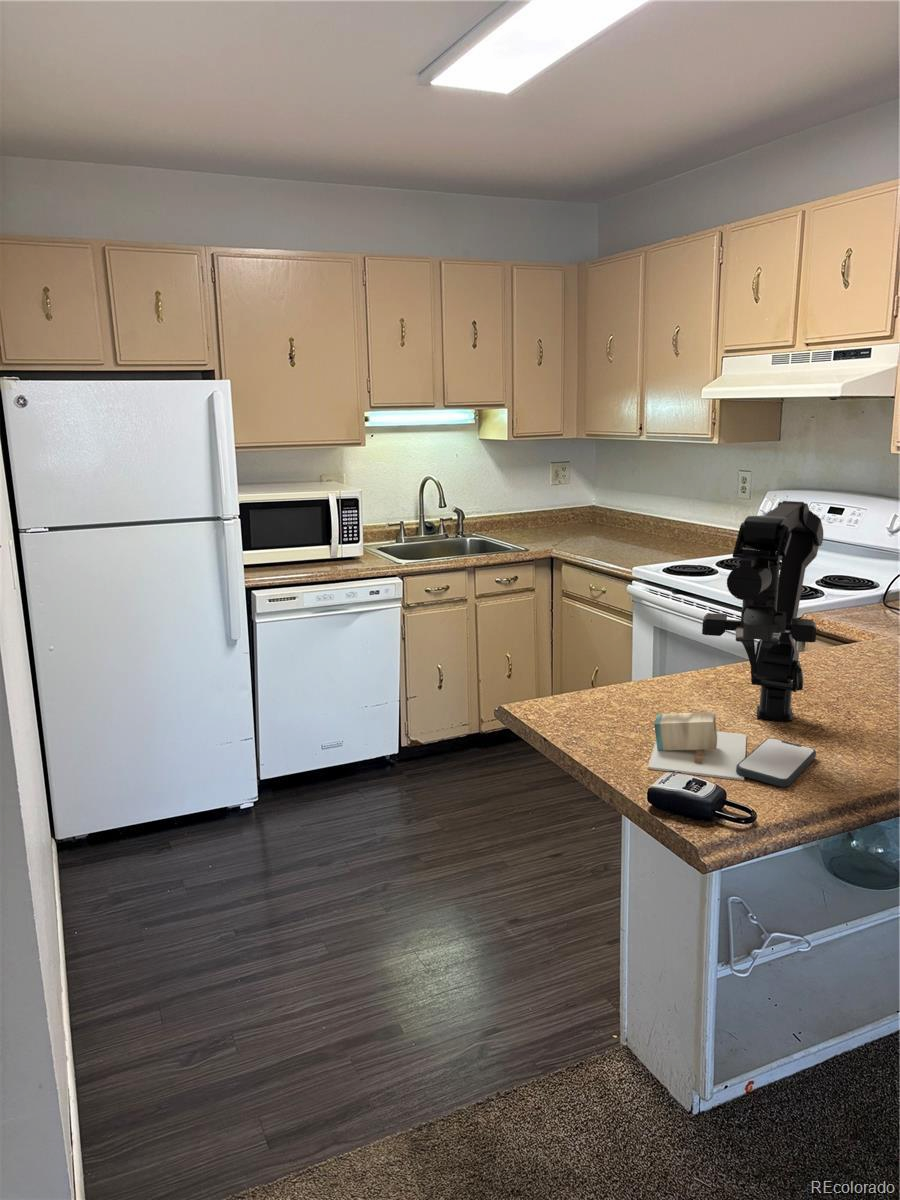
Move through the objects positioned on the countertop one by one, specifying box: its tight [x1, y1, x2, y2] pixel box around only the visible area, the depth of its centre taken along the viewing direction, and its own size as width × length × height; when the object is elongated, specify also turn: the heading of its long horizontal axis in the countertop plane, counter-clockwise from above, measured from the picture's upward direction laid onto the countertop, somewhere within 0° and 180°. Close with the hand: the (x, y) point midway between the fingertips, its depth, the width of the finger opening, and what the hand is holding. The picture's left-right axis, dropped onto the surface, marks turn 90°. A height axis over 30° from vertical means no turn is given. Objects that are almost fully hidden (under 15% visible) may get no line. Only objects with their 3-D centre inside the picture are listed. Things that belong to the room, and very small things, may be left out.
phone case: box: [736, 737, 817, 788], centre depth 145 cm, size 9×2×16 cm
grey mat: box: [647, 730, 747, 782], centre depth 152 cm, size 20×16×1 cm
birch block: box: [653, 711, 718, 751], centre depth 152 cm, size 5×5×10 cm
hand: (755, 673), depth 154 cm, fingers closed
